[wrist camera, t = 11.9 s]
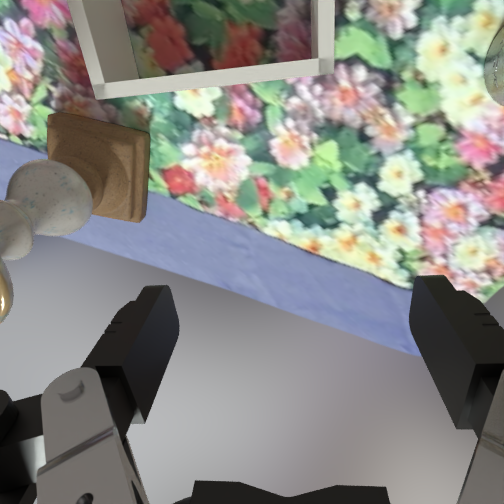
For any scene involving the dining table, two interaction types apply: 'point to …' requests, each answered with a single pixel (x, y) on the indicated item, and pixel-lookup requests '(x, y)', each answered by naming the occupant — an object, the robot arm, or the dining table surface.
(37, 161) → the candle holder
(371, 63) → the dining table surface
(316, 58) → the bracket
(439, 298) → the robot arm
